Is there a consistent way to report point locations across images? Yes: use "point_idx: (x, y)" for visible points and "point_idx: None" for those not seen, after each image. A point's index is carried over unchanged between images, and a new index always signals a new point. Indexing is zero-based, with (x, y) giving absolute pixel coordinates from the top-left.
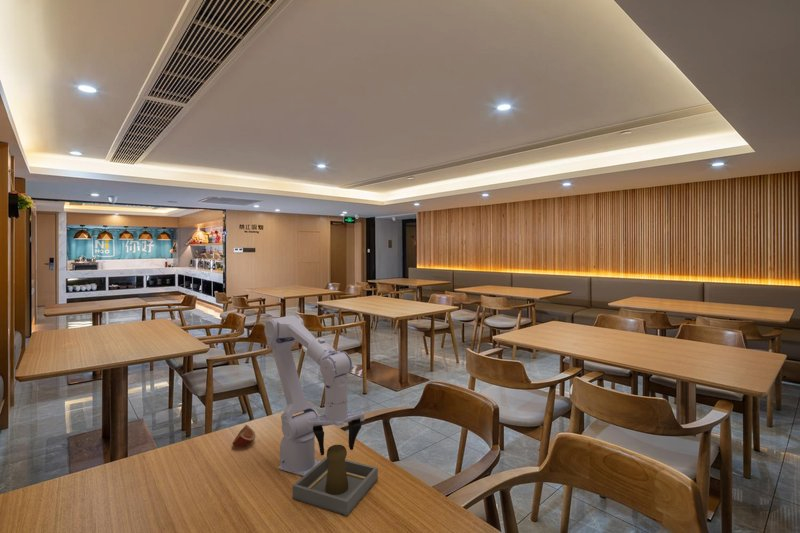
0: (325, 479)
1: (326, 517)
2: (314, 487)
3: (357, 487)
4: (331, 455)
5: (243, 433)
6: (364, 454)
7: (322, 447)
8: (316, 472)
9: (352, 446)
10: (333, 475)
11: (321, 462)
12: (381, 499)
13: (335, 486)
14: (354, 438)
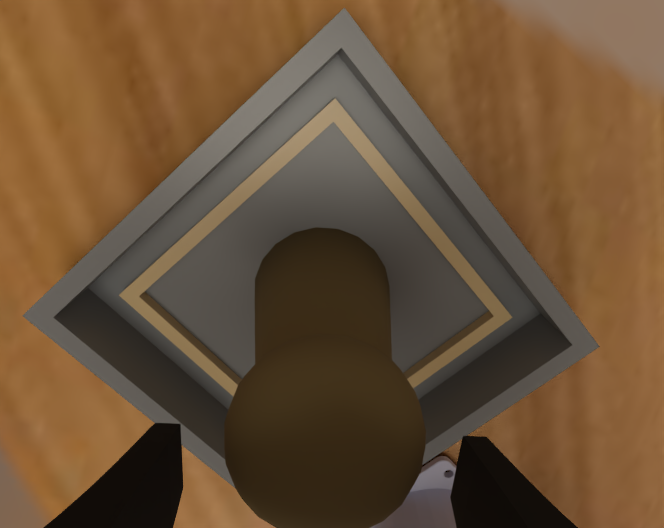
0: None
1: (453, 73)
2: (434, 344)
3: (221, 152)
4: (403, 396)
5: None
6: None
7: (521, 496)
8: None
9: (147, 443)
10: (365, 296)
11: None
12: (88, 89)
13: (350, 254)
14: (76, 516)
